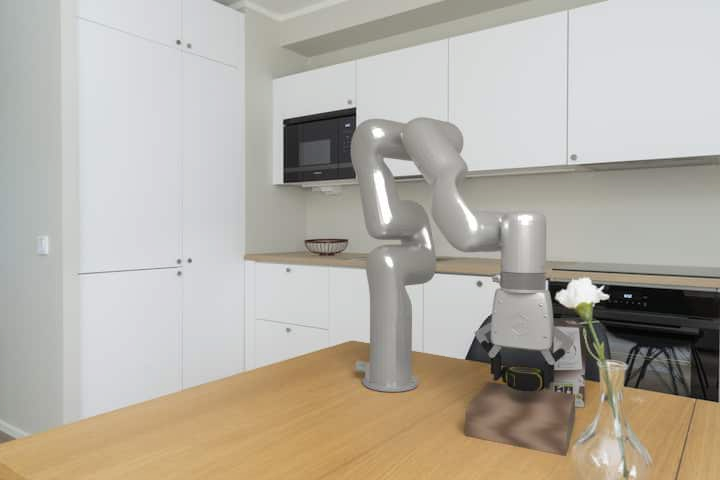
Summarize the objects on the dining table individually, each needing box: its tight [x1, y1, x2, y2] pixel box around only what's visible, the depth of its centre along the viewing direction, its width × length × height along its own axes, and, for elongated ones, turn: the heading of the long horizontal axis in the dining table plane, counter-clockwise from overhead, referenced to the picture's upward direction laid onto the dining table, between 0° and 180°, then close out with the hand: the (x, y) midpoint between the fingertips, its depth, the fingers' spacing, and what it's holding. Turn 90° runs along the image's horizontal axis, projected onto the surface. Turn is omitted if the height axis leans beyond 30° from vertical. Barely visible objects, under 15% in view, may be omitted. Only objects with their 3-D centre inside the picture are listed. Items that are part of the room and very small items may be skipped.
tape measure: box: [500, 365, 545, 392], centre depth 88 cm, size 7×7×4 cm
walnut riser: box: [464, 381, 576, 457], centre depth 89 cm, size 16×16×5 cm
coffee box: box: [544, 318, 587, 408], centre depth 105 cm, size 9×6×16 cm
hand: (521, 381), depth 88 cm, fingers closed on tape measure, 7 cm apart
